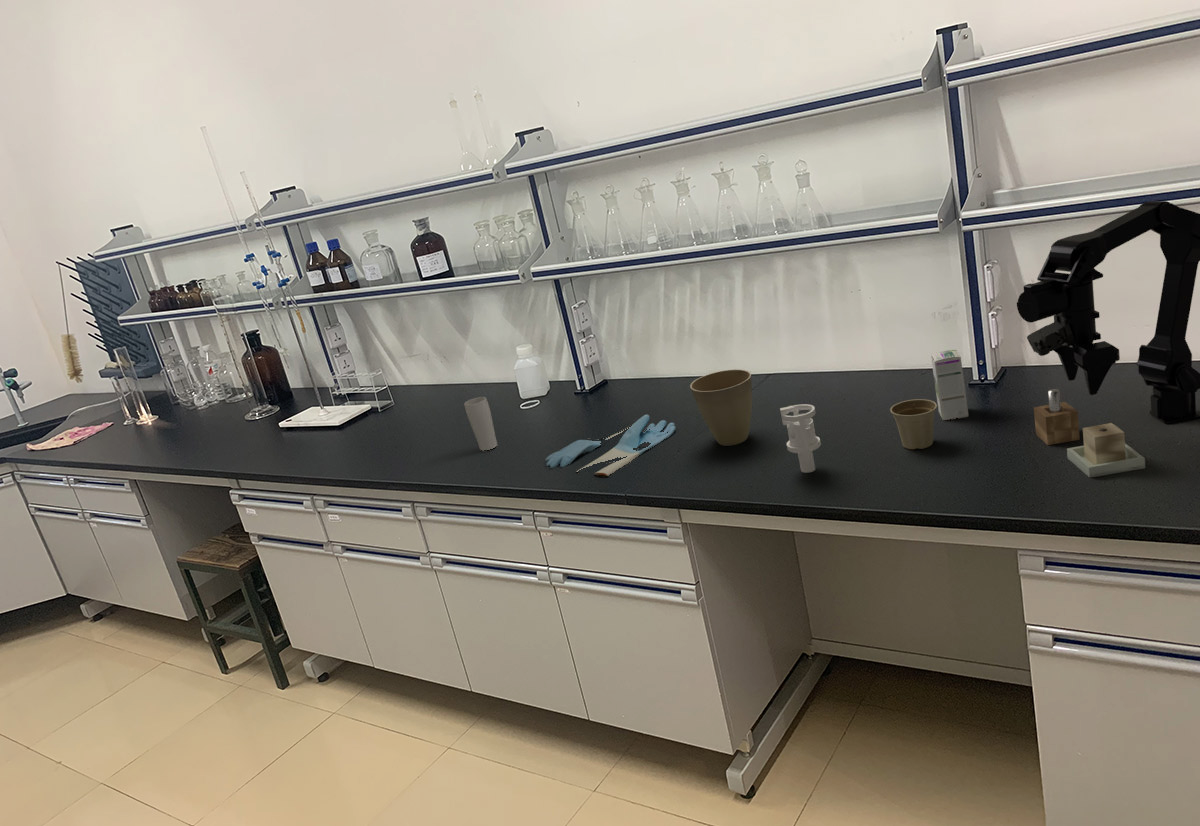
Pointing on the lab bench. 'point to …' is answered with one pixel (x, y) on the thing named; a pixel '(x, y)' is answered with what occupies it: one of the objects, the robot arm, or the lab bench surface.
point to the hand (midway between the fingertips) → (1082, 387)
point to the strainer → (801, 434)
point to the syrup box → (949, 385)
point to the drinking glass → (481, 422)
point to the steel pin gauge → (1054, 400)
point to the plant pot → (725, 404)
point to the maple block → (1104, 444)
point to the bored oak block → (1056, 424)
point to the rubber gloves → (622, 449)
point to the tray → (1131, 463)
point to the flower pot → (915, 422)
